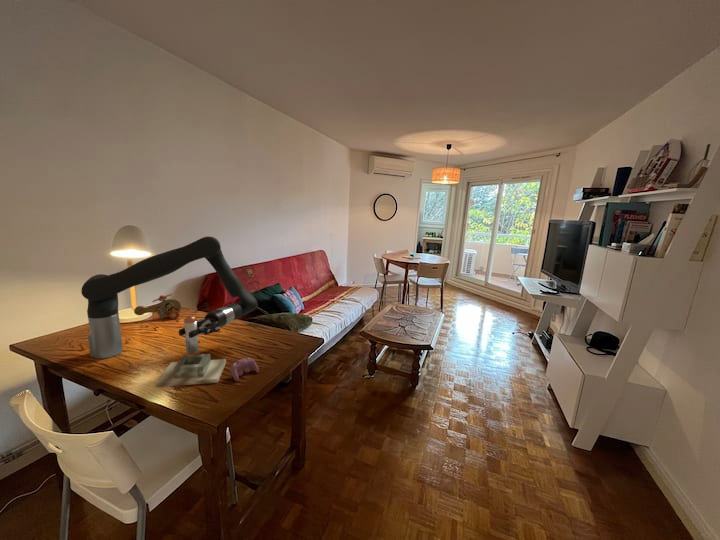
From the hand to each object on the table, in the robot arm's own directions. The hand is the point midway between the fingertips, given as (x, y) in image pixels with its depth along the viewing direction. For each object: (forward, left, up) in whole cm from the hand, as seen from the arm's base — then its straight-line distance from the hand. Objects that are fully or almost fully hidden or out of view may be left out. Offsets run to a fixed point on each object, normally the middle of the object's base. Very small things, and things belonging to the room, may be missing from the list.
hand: (184, 334), depth 102 cm
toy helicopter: (-32, +60, -18) cm, 71 cm away
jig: (+1, +2, -17) cm, 18 cm away
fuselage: (+1, +2, -8) cm, 8 cm away
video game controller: (+20, 0, -18) cm, 27 cm away
